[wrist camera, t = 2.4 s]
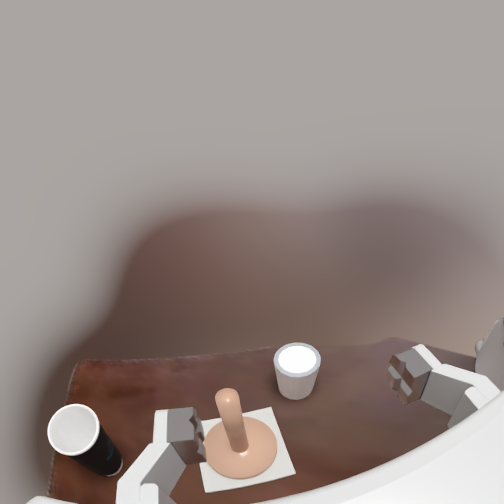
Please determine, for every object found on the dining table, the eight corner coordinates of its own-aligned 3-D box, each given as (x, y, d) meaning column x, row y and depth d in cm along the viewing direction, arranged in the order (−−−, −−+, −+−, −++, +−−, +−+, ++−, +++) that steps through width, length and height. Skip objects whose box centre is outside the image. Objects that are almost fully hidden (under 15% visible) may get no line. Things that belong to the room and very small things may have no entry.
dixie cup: (142, 468, 31) (109, 435, 26) (102, 493, 26) (59, 464, 21) (115, 433, 36) (83, 394, 31) (79, 456, 31) (40, 419, 26)
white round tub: (265, 387, 44) (263, 360, 41) (293, 363, 48) (294, 335, 45) (298, 410, 40) (300, 384, 36) (325, 383, 44) (330, 355, 41)
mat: (271, 408, 41) (271, 406, 40) (295, 474, 30) (295, 473, 30) (193, 423, 39) (192, 422, 38) (205, 493, 28) (205, 492, 28)
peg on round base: (266, 413, 39) (261, 353, 33) (286, 469, 31) (289, 425, 24) (200, 426, 38) (176, 370, 31) (211, 485, 29) (184, 446, 22)
